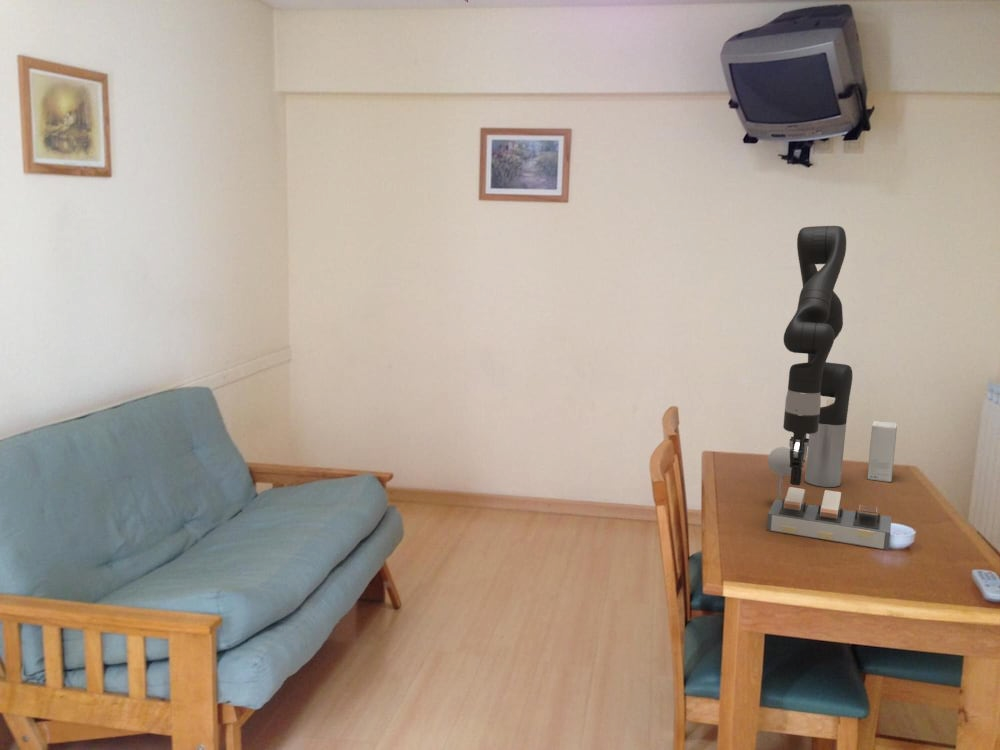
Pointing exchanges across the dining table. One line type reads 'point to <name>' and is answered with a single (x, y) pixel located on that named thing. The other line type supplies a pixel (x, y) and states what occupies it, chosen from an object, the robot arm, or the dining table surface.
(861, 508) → the switch
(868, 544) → the switch unit
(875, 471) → the skincare box
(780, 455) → the lollipop
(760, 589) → the dining table surface
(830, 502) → the switch
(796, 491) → the switch
